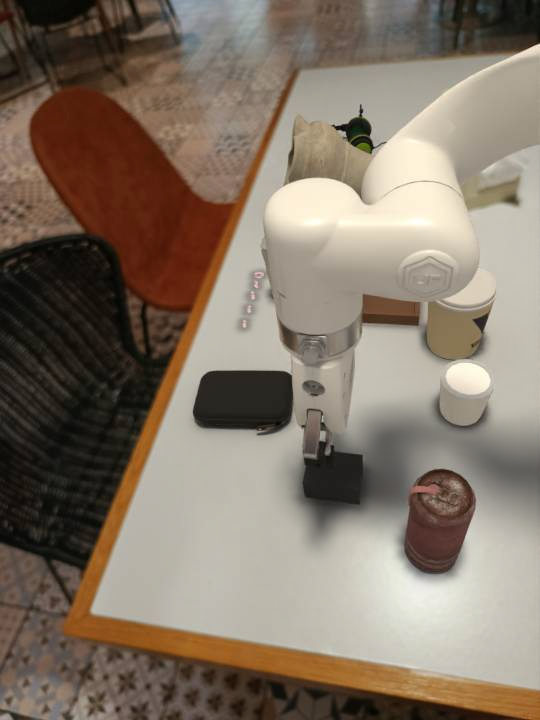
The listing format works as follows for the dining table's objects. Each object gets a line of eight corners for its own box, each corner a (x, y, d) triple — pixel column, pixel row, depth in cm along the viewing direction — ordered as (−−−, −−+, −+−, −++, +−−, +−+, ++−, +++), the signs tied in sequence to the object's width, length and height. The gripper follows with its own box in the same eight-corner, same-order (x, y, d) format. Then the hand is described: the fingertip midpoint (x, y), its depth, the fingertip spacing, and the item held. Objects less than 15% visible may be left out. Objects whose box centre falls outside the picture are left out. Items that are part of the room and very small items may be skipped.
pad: (363, 470, 70) (363, 454, 67) (359, 504, 66) (359, 489, 63) (311, 463, 71) (308, 448, 68) (304, 497, 68) (302, 482, 65)
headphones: (405, 124, 111) (311, 133, 114) (403, 167, 118) (314, 173, 121) (399, 93, 121) (313, 101, 124) (397, 134, 129) (316, 140, 132)
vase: (428, 112, 106) (291, 91, 105) (450, 145, 90) (289, 121, 89) (397, 212, 120) (277, 194, 119) (412, 257, 103) (272, 237, 102)
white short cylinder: (446, 383, 77) (453, 351, 72) (493, 401, 74) (503, 370, 69) (427, 416, 74) (432, 385, 69) (475, 437, 71) (484, 406, 65)
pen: (273, 292, 96) (262, 227, 85) (286, 295, 95) (277, 230, 84) (267, 301, 94) (255, 236, 84) (280, 304, 93) (270, 239, 83)
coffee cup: (480, 369, 78) (495, 310, 69) (416, 358, 81) (423, 300, 72) (486, 326, 84) (501, 266, 75) (426, 317, 87) (434, 258, 78)
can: (398, 524, 64) (405, 466, 54) (452, 522, 63) (469, 463, 53) (405, 574, 60) (414, 522, 50) (462, 574, 59) (484, 521, 49)
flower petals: (255, 272, 100) (254, 270, 100) (265, 272, 100) (265, 270, 100) (238, 328, 91) (237, 325, 90) (249, 328, 90) (248, 326, 90)
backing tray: (420, 286, 92) (421, 277, 90) (418, 325, 86) (419, 316, 84) (320, 282, 96) (319, 273, 94) (312, 319, 90) (311, 310, 88)
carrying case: (191, 434, 77) (290, 436, 75) (186, 422, 75) (288, 424, 72) (204, 378, 84) (296, 378, 81) (200, 365, 82) (294, 365, 79)
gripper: (351, 401, 40) (351, 502, 53) (371, 260, 51) (367, 372, 64) (256, 392, 42) (278, 492, 55) (295, 257, 53) (306, 367, 66)
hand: (326, 427), depth 59 cm, fingers open, 9 cm apart
